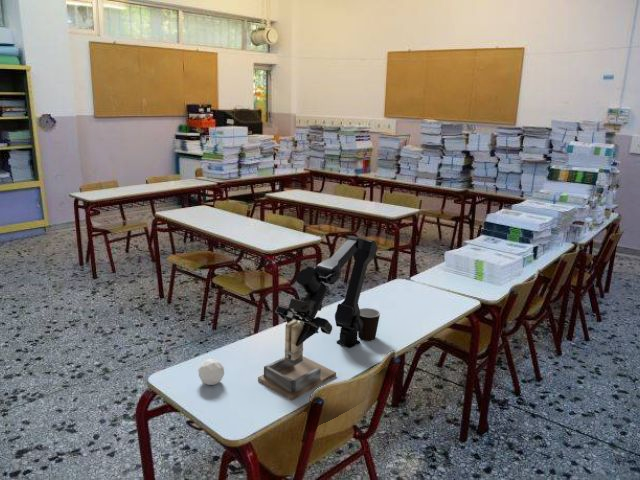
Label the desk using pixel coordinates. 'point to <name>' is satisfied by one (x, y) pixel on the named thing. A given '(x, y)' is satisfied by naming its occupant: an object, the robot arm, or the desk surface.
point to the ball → (211, 371)
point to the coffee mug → (368, 323)
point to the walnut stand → (295, 377)
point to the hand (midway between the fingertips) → (291, 344)
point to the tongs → (293, 343)
